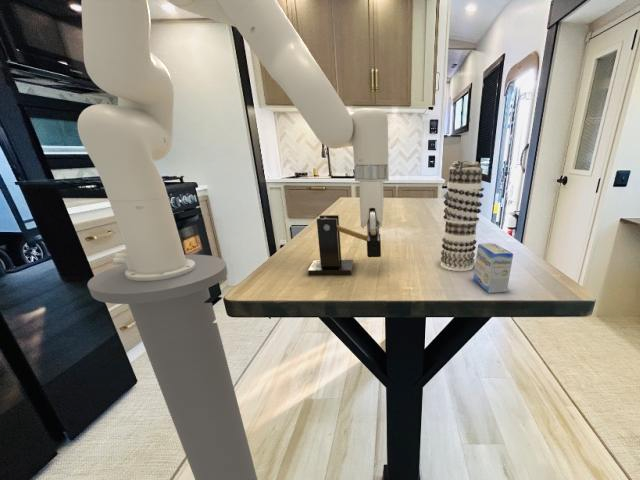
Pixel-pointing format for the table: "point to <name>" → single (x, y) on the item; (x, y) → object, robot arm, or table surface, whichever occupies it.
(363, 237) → the flush lever
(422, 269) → the table surface
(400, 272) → the table surface
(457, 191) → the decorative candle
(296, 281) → the table surface
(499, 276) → the medicine box
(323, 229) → the lever bracket
